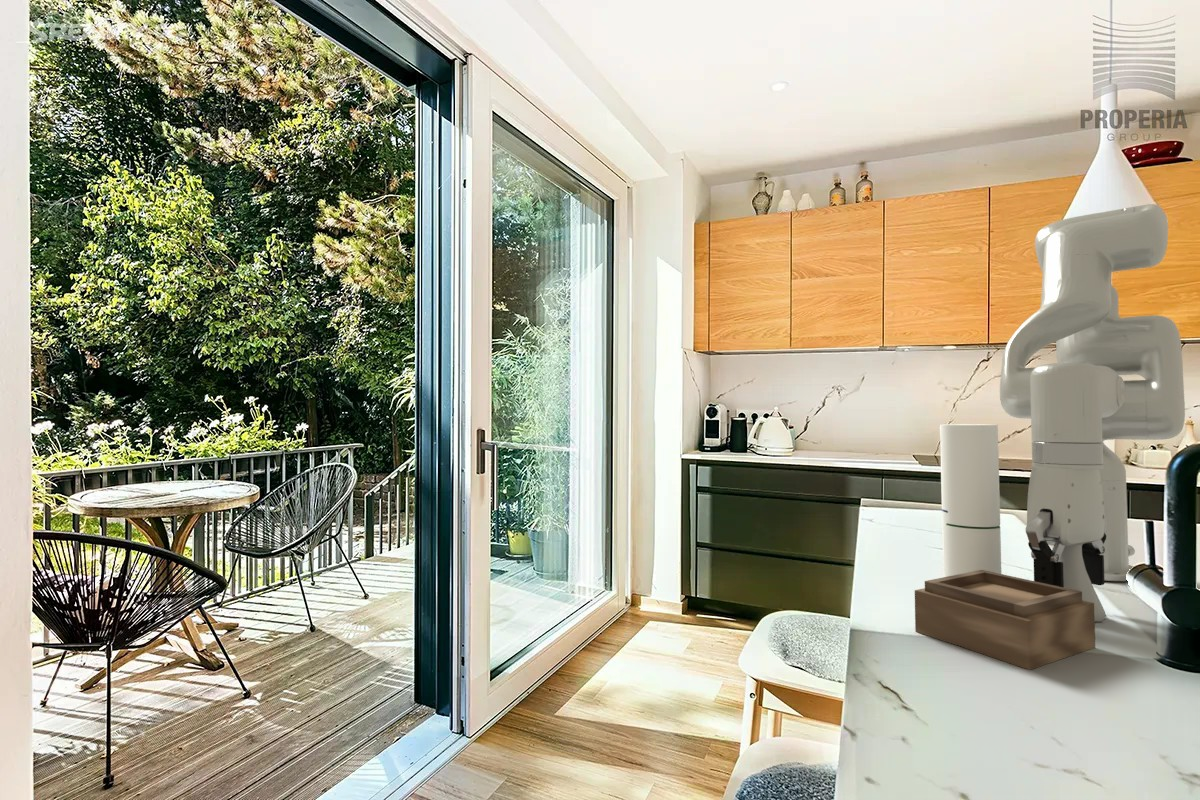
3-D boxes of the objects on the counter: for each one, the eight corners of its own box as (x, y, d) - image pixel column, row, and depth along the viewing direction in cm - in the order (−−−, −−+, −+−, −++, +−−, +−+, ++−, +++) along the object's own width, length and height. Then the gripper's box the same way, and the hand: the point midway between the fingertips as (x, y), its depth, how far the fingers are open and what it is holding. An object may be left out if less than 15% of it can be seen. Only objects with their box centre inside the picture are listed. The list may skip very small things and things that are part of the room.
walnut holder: (980, 615, 82) (979, 567, 82) (1095, 647, 70) (1093, 592, 70) (915, 631, 76) (914, 580, 76) (1029, 669, 64) (1027, 609, 64)
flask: (1025, 610, 83) (1023, 536, 84) (1058, 603, 86) (1056, 531, 87) (1084, 627, 77) (1082, 546, 77) (1119, 619, 80) (1116, 541, 80)
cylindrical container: (985, 593, 91) (981, 424, 92) (1013, 608, 84) (1008, 424, 85) (935, 592, 92) (931, 424, 93) (957, 607, 85) (953, 425, 86)
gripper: (1070, 454, 89) (1073, 574, 89) (998, 456, 81) (1001, 588, 81) (1133, 456, 83) (1137, 586, 82) (1062, 459, 75) (1065, 603, 74)
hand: (1069, 587), depth 81 cm, fingers open, 9 cm apart
